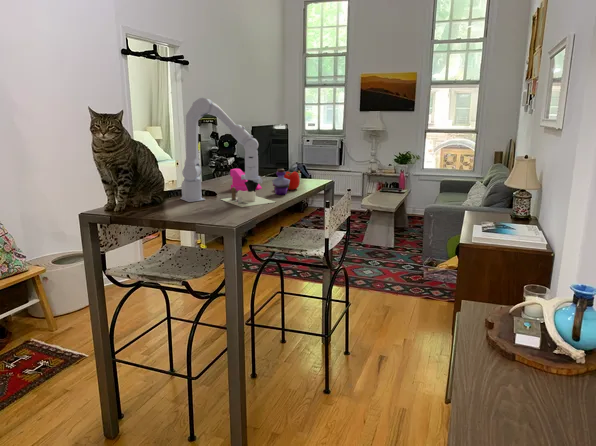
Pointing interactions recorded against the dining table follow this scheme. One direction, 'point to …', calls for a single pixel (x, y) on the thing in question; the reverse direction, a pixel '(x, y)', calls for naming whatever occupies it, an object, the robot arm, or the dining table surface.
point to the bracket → (239, 180)
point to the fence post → (233, 193)
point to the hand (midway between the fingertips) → (251, 197)
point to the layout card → (248, 203)
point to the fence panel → (247, 195)
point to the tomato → (292, 180)
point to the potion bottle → (281, 183)
